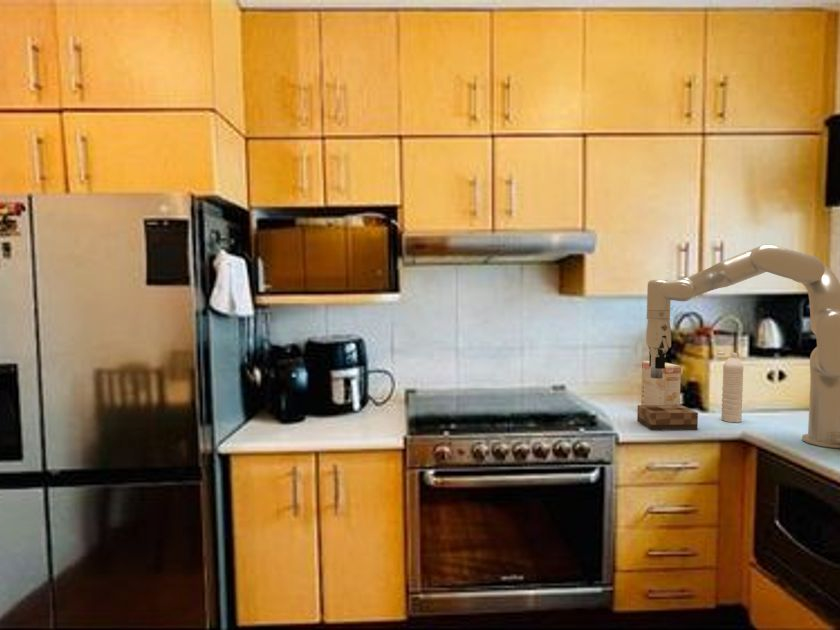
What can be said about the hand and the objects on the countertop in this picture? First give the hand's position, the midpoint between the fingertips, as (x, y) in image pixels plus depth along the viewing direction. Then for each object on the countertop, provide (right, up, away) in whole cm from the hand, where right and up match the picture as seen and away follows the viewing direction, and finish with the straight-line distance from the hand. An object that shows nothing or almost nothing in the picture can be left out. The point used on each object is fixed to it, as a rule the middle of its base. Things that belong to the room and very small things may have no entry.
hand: (656, 366), depth 202 cm
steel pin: (0, -4, 0) cm, 4 cm away
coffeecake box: (+10, -20, +21) cm, 30 cm away
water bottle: (+30, -21, +9) cm, 37 cm away
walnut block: (+4, -21, +2) cm, 21 cm away
